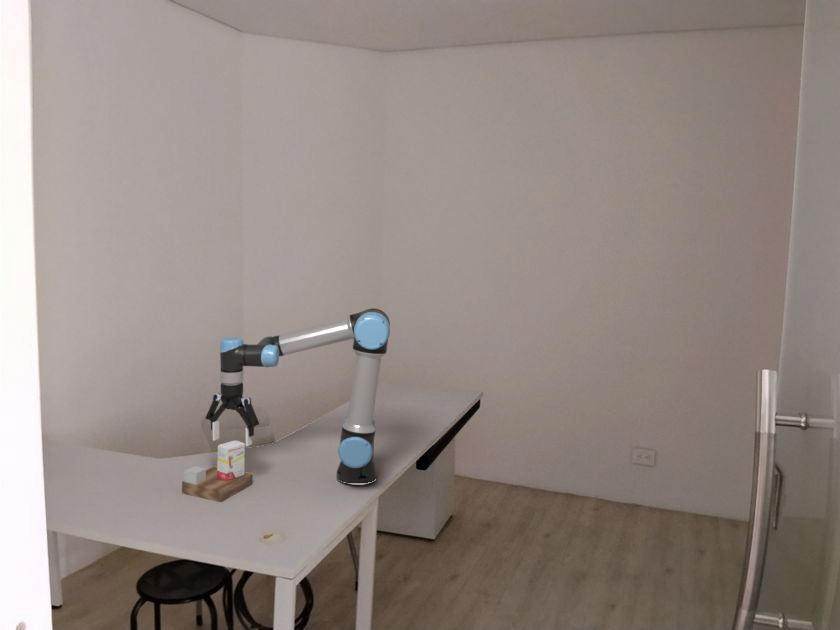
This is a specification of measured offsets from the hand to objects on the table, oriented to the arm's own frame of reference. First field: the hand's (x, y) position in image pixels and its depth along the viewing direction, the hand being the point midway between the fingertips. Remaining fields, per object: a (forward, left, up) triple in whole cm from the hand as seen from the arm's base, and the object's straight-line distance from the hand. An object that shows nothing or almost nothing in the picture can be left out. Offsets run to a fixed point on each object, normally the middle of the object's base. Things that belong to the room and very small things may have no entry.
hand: (232, 442), depth 251 cm
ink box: (0, 0, -13) cm, 13 cm away
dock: (+3, +3, -16) cm, 17 cm away
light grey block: (+8, +9, -12) cm, 18 cm away
